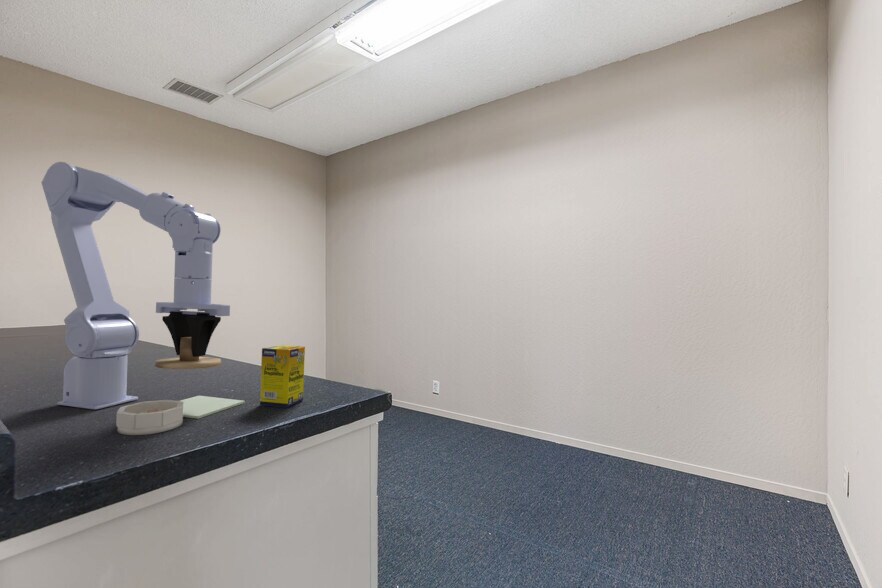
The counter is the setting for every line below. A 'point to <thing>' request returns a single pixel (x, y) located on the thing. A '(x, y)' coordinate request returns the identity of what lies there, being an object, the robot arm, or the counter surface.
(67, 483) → the counter surface
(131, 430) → the bowl
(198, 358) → the lid
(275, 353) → the supplement box
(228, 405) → the mat
